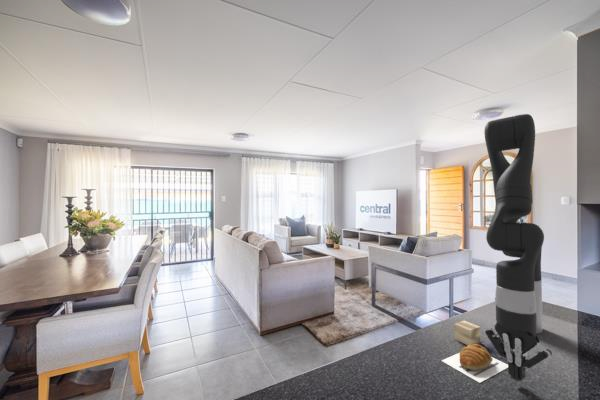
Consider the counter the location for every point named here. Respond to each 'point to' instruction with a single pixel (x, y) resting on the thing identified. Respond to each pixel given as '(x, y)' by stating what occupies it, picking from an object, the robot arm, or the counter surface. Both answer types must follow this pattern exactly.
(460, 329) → the maple cube
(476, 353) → the pastry
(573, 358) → the counter surface
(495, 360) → the letter
